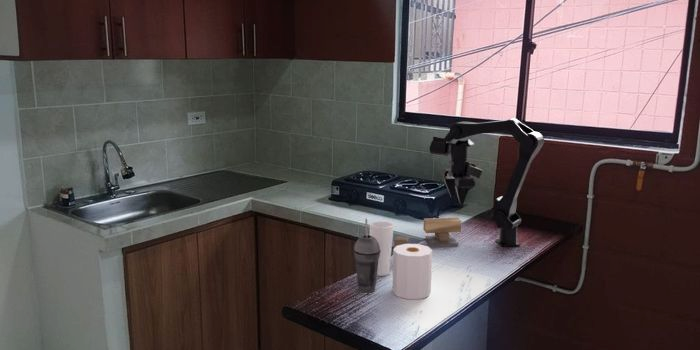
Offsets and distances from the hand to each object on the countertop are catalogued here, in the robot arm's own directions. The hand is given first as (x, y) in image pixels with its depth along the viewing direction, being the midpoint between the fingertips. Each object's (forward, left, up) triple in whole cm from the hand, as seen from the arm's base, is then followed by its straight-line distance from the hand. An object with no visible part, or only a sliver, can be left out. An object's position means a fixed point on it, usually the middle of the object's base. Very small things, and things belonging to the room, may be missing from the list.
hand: (457, 201), depth 204 cm
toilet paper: (-49, +28, -12) cm, 58 cm away
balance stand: (-9, +8, -12) cm, 17 cm away
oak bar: (-9, +8, -8) cm, 14 cm away
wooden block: (-27, +26, -12) cm, 39 cm away
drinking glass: (-35, +34, -12) cm, 50 cm away
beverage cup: (-47, +40, -12) cm, 63 cm away
